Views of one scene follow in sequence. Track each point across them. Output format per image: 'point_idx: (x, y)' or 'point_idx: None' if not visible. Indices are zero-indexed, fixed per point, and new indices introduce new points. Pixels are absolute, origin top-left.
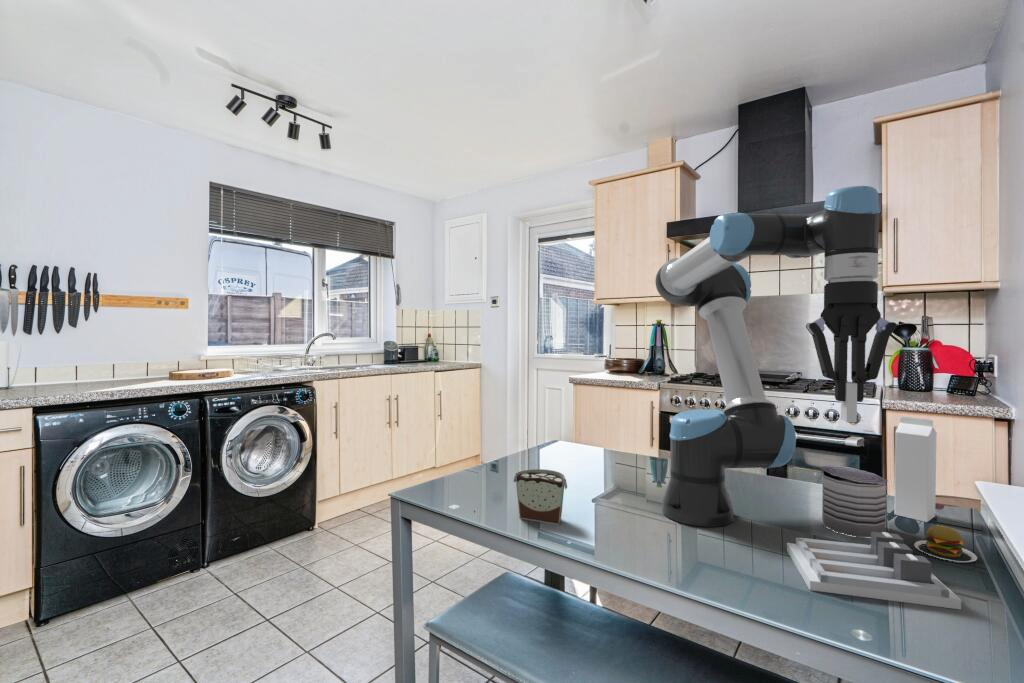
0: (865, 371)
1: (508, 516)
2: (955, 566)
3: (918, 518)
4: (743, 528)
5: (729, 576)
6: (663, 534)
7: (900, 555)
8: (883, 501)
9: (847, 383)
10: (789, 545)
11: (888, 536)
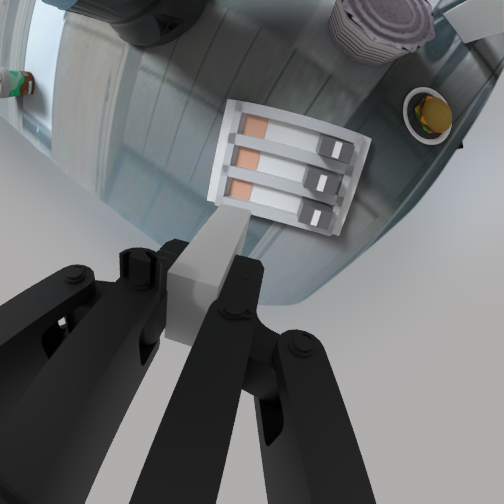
0: (274, 373)
1: None
2: (412, 147)
3: (460, 35)
4: (203, 37)
5: (142, 174)
6: (104, 81)
7: (306, 211)
8: (408, 51)
9: (167, 337)
10: (226, 107)
11: (333, 157)
